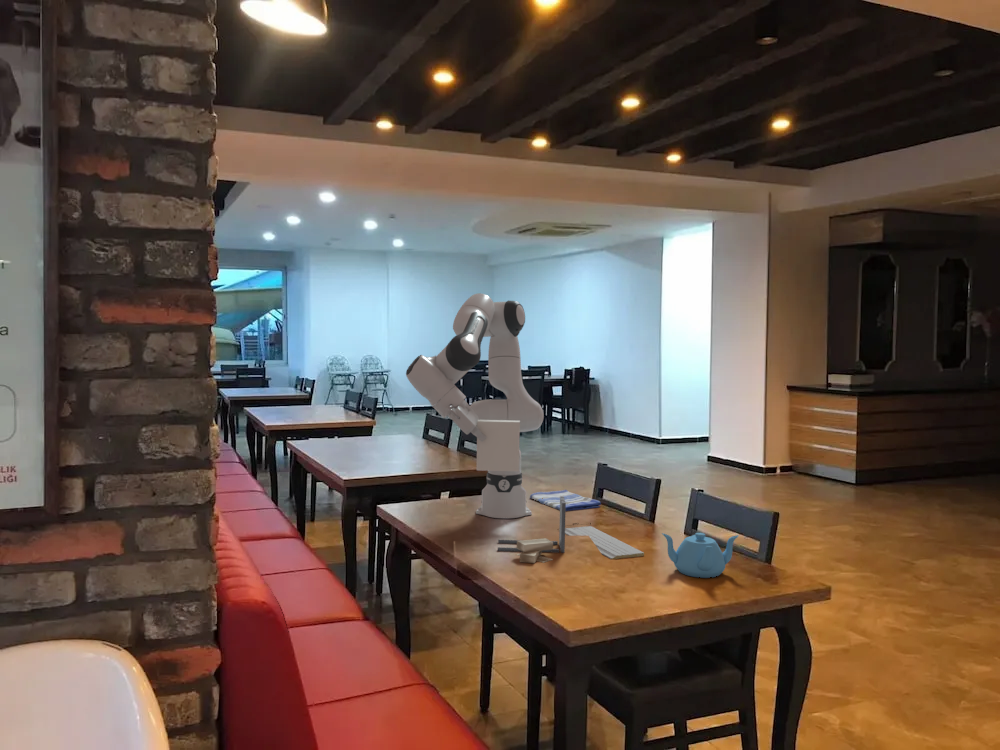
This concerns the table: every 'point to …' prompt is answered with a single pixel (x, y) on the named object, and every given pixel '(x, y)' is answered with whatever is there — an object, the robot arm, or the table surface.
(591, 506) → the dish towel
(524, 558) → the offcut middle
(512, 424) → the off-white wooden block
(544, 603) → the table surface
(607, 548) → the baseboard molding
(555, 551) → the rack
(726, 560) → the teapot
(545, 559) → the block
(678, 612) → the table surface
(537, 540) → the offcut top
